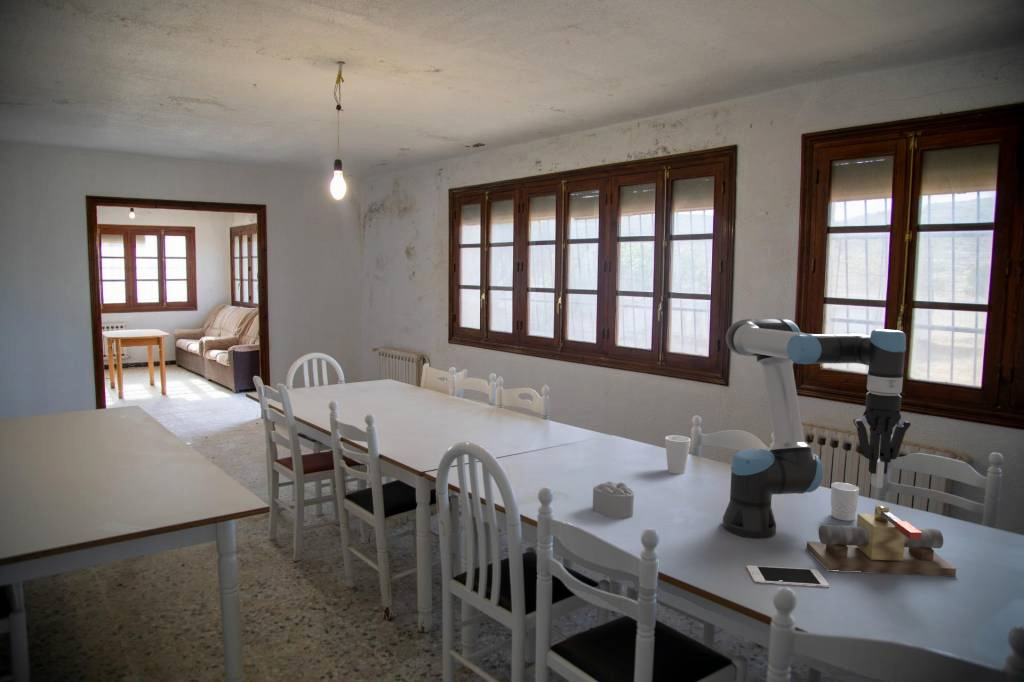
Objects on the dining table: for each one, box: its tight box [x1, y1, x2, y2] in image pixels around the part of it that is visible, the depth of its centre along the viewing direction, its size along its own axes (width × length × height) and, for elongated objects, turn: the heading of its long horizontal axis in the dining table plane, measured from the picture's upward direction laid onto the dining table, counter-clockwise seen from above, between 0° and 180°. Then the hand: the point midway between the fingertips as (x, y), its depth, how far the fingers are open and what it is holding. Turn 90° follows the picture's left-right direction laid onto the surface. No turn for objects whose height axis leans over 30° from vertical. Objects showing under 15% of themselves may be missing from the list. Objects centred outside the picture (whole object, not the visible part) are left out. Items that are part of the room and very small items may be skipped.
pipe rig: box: [806, 513, 957, 577], centre depth 174 cm, size 32×14×12 cm, turn 87°
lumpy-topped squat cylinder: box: [592, 481, 635, 519], centre depth 208 cm, size 10×13×9 cm
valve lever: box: [874, 504, 922, 540], centre depth 166 cm, size 3×18×3 cm, turn 177°
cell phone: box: [745, 564, 830, 587], centre depth 165 cm, size 9×18×1 cm, turn 84°
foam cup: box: [664, 434, 692, 475], centre depth 249 cm, size 10×9×13 cm
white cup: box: [830, 481, 860, 522], centre depth 206 cm, size 8×8×10 cm
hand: (876, 485), depth 162 cm, fingers closed
